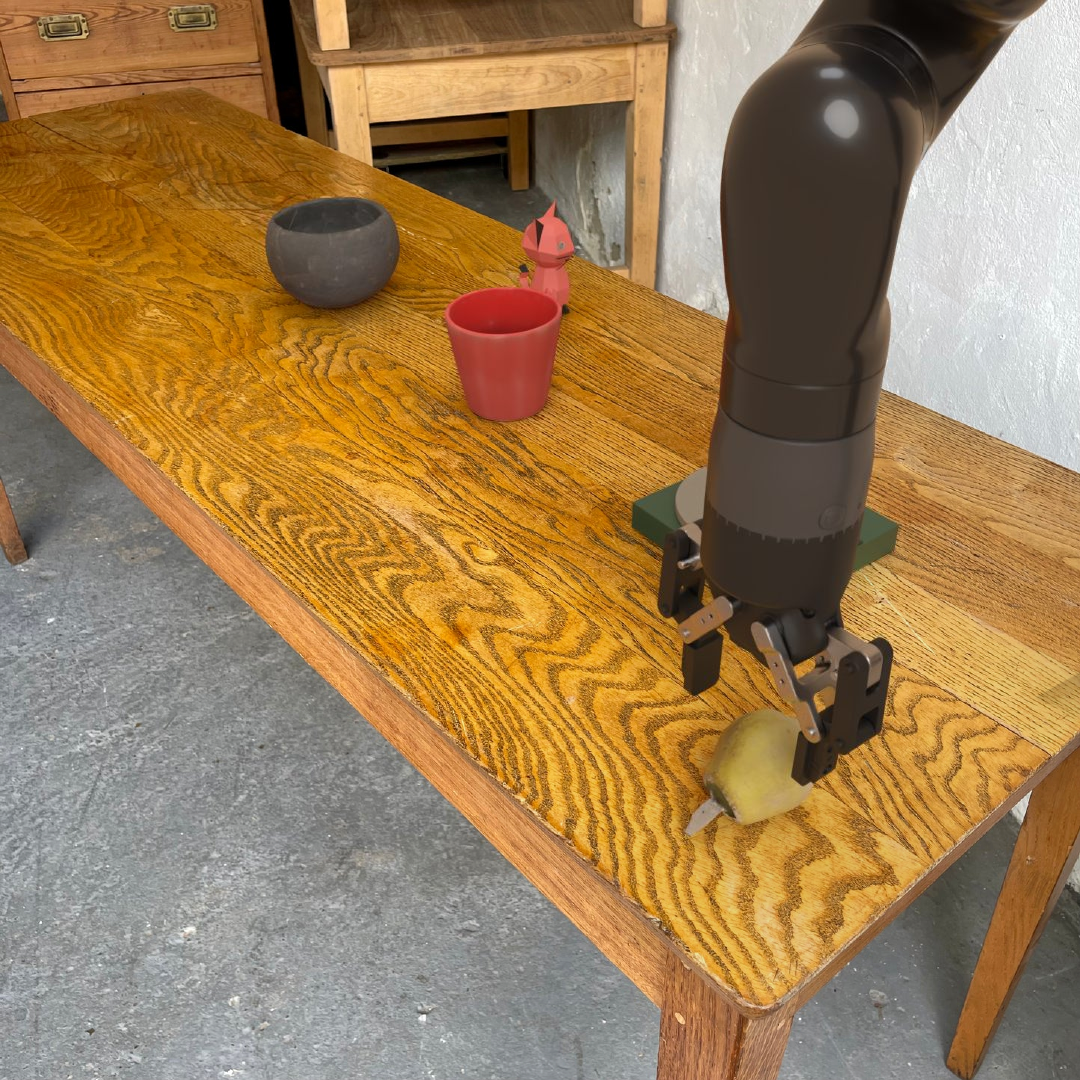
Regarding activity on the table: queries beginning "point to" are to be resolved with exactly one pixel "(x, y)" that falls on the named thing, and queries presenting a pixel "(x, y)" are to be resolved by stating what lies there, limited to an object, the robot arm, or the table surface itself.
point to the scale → (687, 506)
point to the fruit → (752, 771)
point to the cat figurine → (548, 256)
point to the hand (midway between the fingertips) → (752, 729)
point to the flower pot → (504, 349)
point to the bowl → (332, 250)
